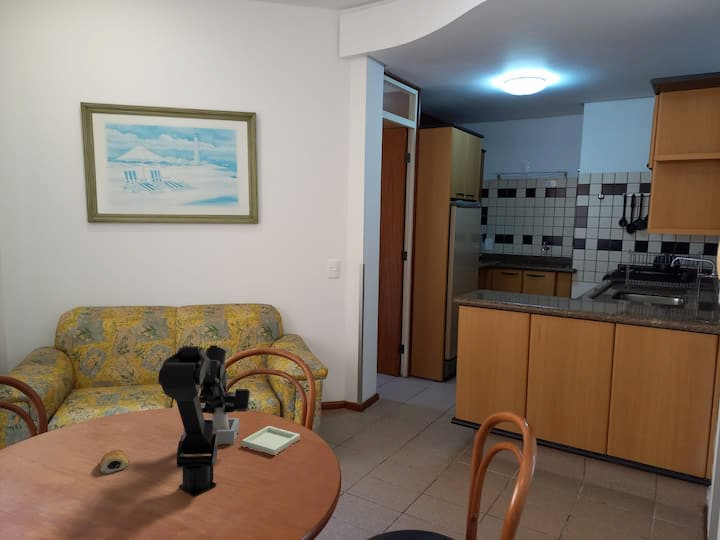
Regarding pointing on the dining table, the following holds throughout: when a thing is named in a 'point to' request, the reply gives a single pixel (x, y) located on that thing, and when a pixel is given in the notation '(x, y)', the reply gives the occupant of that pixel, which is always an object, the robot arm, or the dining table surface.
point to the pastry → (114, 461)
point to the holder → (228, 432)
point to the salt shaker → (220, 419)
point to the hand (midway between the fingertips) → (220, 412)
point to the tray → (270, 440)
